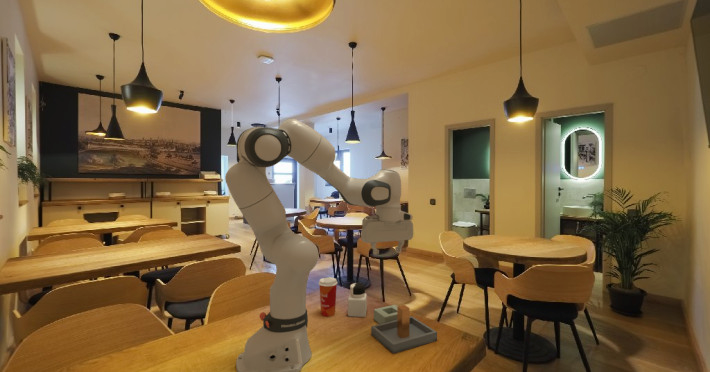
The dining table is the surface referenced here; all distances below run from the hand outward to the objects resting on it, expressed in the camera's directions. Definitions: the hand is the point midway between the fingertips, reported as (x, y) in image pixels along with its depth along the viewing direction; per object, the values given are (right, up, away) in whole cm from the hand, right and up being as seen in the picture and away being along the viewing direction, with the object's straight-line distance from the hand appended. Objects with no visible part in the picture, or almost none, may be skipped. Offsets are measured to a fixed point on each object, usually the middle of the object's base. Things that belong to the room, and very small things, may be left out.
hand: (387, 253), depth 116 cm
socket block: (+2, -28, +10) cm, 30 cm away
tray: (+5, -29, -3) cm, 29 cm away
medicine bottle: (-11, -28, +17) cm, 34 cm away
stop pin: (+5, -28, -3) cm, 29 cm away
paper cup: (-23, -28, +16) cm, 40 cm away
